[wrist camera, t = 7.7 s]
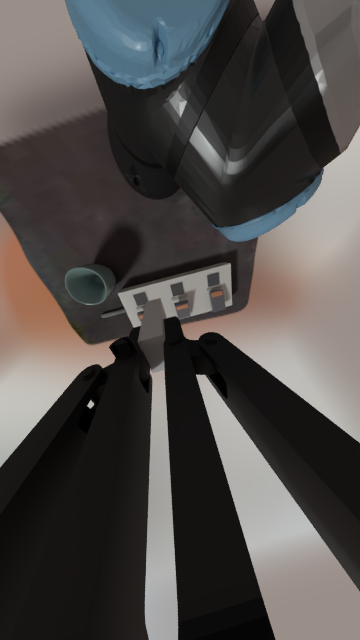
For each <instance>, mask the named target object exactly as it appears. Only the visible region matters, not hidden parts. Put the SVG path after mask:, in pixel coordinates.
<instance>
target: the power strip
mask: <svg viewBox="0 0 360 640" xmlns="http://www.w3.org/2000/svg"><path fill="white" fill-rule="evenodd" d="M219 289H223V294H224V300H225V306H226V307H227V306H231V305H232V288H231V263H226V262H222V263H218V264H215V265H211V266H207V267H203V268H200V269H196V270H192V271H188V272H184V273H181V274H177V275H173V276H169V277H166V278H162V279H158V280H154V281H151V282H147V283H143V284H139V285H135V286H132V287H128V288H124V289H121V290H120V291H119V293H118V295H119V297H120V299H121V301H122V304H123V306H124V309H120V310H116V311H113V312H109V313H105V314H102V315H101V317H102V318H106V317H110V316H113V315H117V314H121V313H125V312H127V314H128V316H129V318H130V320H131V323H132V325H133V327H138V326H141V321H140V319H139V318H138V316H137V312H140V311H144V309H145V304H146V302H147V301H151V300H155V299H158V298H161V301H162V304H163V307H164V311H165V314H166V317H167V318H169V317H173V316H176V317H178V316H177V312H176V308H175V305H174V303H177V302H180V301H184V300H188V303H189V310H190V316H194V315H198V314H201V313H205V312H209V311H212V307H211V302H210V297H209V292H211V291H215V290H219ZM190 316H189V317H190ZM186 318H187V317H186ZM182 319H183V318H182Z"/></svg>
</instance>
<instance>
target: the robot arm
mask: <svg viewBox="0 0 360 640" xmlns="http://www.w3.org/2000/svg"><path fill="white" fill-rule="evenodd" d="M65 2H66V6H67V10H68V12H69V15H70V18H71V21H72V23H73V26H74V28H75V30H76V32H77V35H78V38H79V39H80V40H81V41H82V45H83V48H84V50H85V52H86V55H87V58H88V60H89V63H90V66H91V69H92V71H93V74H94V76H95V79H96V82H97V85H98V87H99V90H100V93H101V96H102V98H103V101H104V104H105V106H106V109H107V127H108V136H109V141H110V146H111V149H112V153H113V156H114V158H115V161H116V163H117V165H118V167H119V169H120V171H121V173H122V175H123V177H124V178H125V180H126V181H127V182H128V183H129V185H130V186H131V187H132V188H133V189H134V190H135V191H137V192H138V193H139V194H141V195H143V196H145V197H147V198H150V199H164V198H167V197H169V196H171V195H173V194H174V193H175V192H176V191H177V190H178V189H179V188H180V187H181V188H182V190H183V191H184V192H185V193H186V194H187V195H188V196H189V198H190V199H191V200H192V201H193V202H194V203H195V204H196V205H197V207H198V208H199V209H200V210H201V211H202V212H203V213H204V215H205V216H206V217H207V218H208V219H209V220H210V221H211V224H212V226H213V227H214V228H216V229H218V230H219V231H220V232H221V233H222V234H223V235H224V236H225V237H226V238H227V239H229V240H231V241H237V242H242V241H247V240H250V239H253V238H256V237H258V236H260V235H262V234H264V233H266V232H268V231H270V230H272V229H273V228H275V227H277V226H278V225H280V224H281V223H283V222H284V221H285V220H286V219H288V218H289V217H290V216H292V215H293V214H294V213H295V212H296V208H298V207H300V206H302V205H304V204H305V203H306V202H307V201H308V200H309V199H310V198H311V197H312V195H313V194H314V192H315V191H316V190H317V188H318V187H319V185H320V183H321V180H322V175H323V171H324V169H323V167H324V166H326V165H327V164H328V163H330V162H331V161H332V160H334V159H335V158H336V157H337V156H339V155H340V154H341V153H342V152H344V151H345V150H346V149H347V148H348V146H349V144H350V142H351V140H352V139H353V137H354V135H355V133H356V132H357V130H358V128H359V126H360V0H275V2H274V4H273V6H272V8H271V10H270V12H269V14H268V15H267V17H266V19H265V20H264V21H263V22H262V20H261V18H260V16H259V13H258V10H257V8H256V5H255V3H254V0H65ZM109 348H110V349H111V351H112V353H113V354H114V356H115V357H116V359H115V361H114V363H113V364H111V365H109V366H107V367H105V368H102V367H101V366H100V365H98V364H95V365H92V366H89V367H87V368H86V369H84V370H83V371H82V372H81V373H80V374H79V375H78V376H77V377H76V378H75V379H74V381H73V382H72V383H71V384H70V385H69V387H68V388H67V389H66V390H65V391H64V392H63V394H62V395H61V396H60V397H59V398H58V400H57V401H56V402H55V403H54V404H53V406H52V407H51V408H50V409H49V410H48V411H47V413H46V414H45V415H44V416H43V417H42V419H41V420H40V421H39V422H38V423H37V425H36V426H35V427H34V428H33V429H32V430H31V432H30V433H29V434H28V435H27V436H26V438H25V439H24V440H23V441H22V442H21V444H20V445H19V446H18V447H17V449H16V450H15V451H14V452H13V453H12V454H11V455H10V457H9V458H8V459H7V460H6V461H5V463H4V464H3V465H2V466H1V467H0V640H149V639H148V634H147V630H146V625H145V612H144V611H145V576H146V547H147V546H146V545H147V518H148V489H149V461H150V460H149V459H150V433H151V404H152V377H151V375H150V368H151V370H152V372H153V373H154V372H157V371H161V370H165V385H166V403H167V421H168V438H169V457H170V475H171V493H172V511H173V528H174V547H175V562H176V563H175V565H176V581H177V582H176V583H177V601H178V640H275V637H274V634H273V630H272V627H271V624H270V621H269V618H268V614H267V611H266V608H265V605H264V601H263V598H262V595H261V592H260V589H259V585H258V582H257V579H256V575H255V572H254V568H253V565H252V562H251V558H250V555H249V552H248V548H247V545H246V542H245V538H244V535H243V531H242V528H241V525H240V521H239V518H238V515H237V511H236V508H235V505H234V501H233V498H232V495H231V491H230V488H229V484H228V481H227V478H226V474H225V472H224V468H223V465H222V461H221V458H220V455H219V451H218V448H217V444H216V441H215V438H214V435H213V431H212V428H211V424H210V421H209V417H208V414H207V411H206V408H205V404H204V401H203V398H202V394H201V391H200V388H199V384H198V381H197V377H196V374H197V375H199V374H200V375H206V377H207V378H208V379H209V381H210V382H211V384H212V385H213V387H214V388H215V389H216V391H217V392H218V394H219V395H220V396H221V397H222V399H223V401H224V402H225V403H226V405H227V406H228V407H229V409H230V410H231V412H232V413H233V414H234V416H235V417H236V419H237V420H238V422H239V423H240V424H241V426H242V427H243V429H244V430H245V431H246V433H247V434H248V435H249V437H250V438H251V440H252V441H253V442H254V444H255V445H256V447H257V448H258V449H259V451H260V452H261V454H262V455H263V456H264V458H265V459H266V460H267V462H268V463H269V465H270V466H271V468H272V469H273V470H274V472H275V473H276V475H277V476H278V477H279V479H280V480H281V482H282V483H283V484H284V486H285V487H286V489H287V490H288V491H289V493H290V494H291V495H292V497H293V498H294V500H295V501H296V503H297V504H298V505H299V507H300V508H301V509H302V511H303V512H304V514H305V515H306V517H307V518H308V519H309V521H310V522H311V524H312V525H313V526H314V528H315V529H316V531H317V532H318V533H319V535H320V536H321V538H322V539H323V540H324V542H325V543H326V545H327V546H328V547H329V549H330V550H331V552H332V553H333V554H334V556H335V557H336V559H337V560H338V561H339V563H340V564H341V566H342V567H343V568H344V570H345V571H346V573H347V574H348V575H349V577H350V578H351V579H352V581H353V582H354V584H355V585H356V587H357V588H358V589H359V591H360V443H359V442H358V441H356V440H355V439H354V438H352V437H351V436H350V435H349V434H347V433H346V432H345V431H343V430H342V429H341V428H340V427H338V426H337V425H336V424H334V423H333V422H332V421H331V420H329V419H328V418H327V417H326V416H324V415H323V414H322V413H320V412H319V411H318V410H316V409H315V408H314V407H312V406H311V405H310V404H309V403H308V402H306V401H305V400H304V399H302V398H301V397H300V396H299V395H297V394H296V393H295V392H293V391H292V390H291V389H289V388H288V387H287V386H286V385H284V384H283V383H282V382H281V381H279V380H278V379H277V378H275V377H274V376H273V375H272V374H270V373H269V372H268V371H266V370H265V369H264V368H262V367H261V366H260V365H259V364H258V363H256V362H255V361H253V360H252V359H251V358H250V357H249V356H247V355H246V354H245V353H243V352H242V351H241V350H240V349H238V348H237V347H236V346H234V345H233V344H232V343H230V342H229V341H228V340H227V339H225V338H224V337H223V336H221V335H220V334H218V333H215V332H208V333H205V334H203V335H201V336H200V338H199V340H189V339H186V338H185V337H184V335H183V332H182V328H181V325H180V321H179V318H178V317H176V316H173V317H169V318H167V317H166V314H165V311H164V307H163V304H162V301H161V298H158V299H155V300H151V301H147V302H146V304H145V309H144V314H143V318H142V323H141V326H138V327H134V328H133V329H132V331H131V332H130V335H129V337H122V338H120V339H118V340H116V341H114V342H113V343H112V344H111V345H110V347H109ZM90 400H91V401H92V402H93V403H94V406H93V407H92V408H91V409H90V408H89V407H87V405H88V403H89V402H90Z"/></svg>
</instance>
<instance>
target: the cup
mask: <svg viewBox="0 0 360 640" xmlns="http://www.w3.org/2000/svg"><path fill="white" fill-rule="evenodd" d="M65 286H66V289H67V291H68V293H69V294H70V295H71V297H73V298H74V299H75V300H76V301H78V302H80V303H83V304H87V305H96V304H100V303H102V302H103V301H105V300H106V299H107V298H108V297H109V296H110V295H111V294H112V292H113V291H114V289H115V286H116V278H115V275H114V273H113V272H112V270H111V269H109V268H108V267H106V266H104V265H100V264H87V265H82V266H78V267H75V268H72V269H70V270H69V271H68V272H67V273H66V275H65Z"/></svg>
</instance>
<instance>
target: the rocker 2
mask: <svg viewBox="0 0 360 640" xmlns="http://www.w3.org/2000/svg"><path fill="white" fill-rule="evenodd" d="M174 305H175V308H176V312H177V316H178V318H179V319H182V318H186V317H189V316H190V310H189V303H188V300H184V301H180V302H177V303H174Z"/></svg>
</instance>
